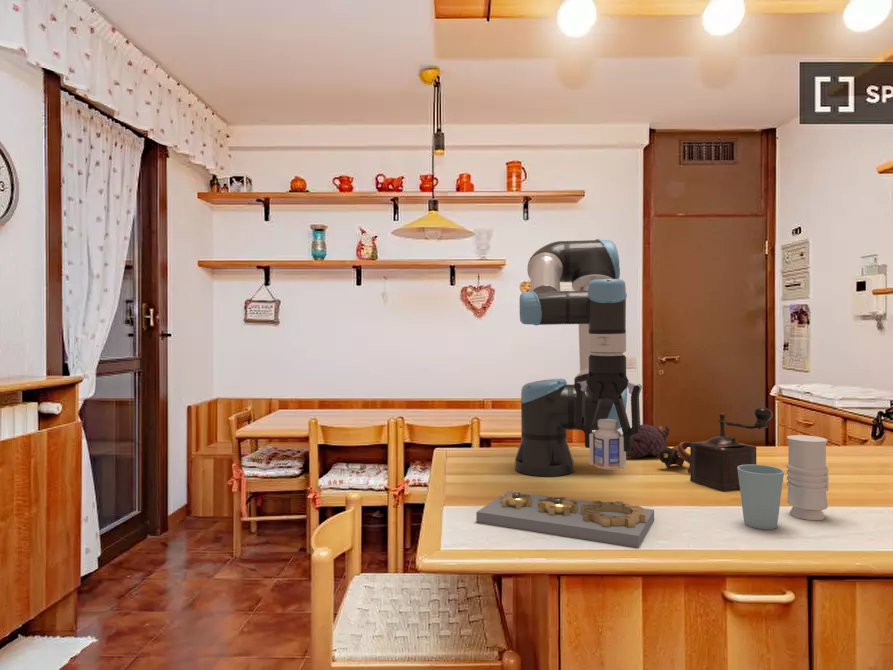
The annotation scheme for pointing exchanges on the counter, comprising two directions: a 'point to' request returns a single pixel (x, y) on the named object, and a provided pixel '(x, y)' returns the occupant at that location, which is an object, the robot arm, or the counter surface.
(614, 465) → the pill bottle
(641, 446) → the pine cone
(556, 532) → the gear board
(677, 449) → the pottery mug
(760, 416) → the manual coffee grinder
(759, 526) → the cup
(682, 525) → the counter surface
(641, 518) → the gear
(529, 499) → the idler gear
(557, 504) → the gear
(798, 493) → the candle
